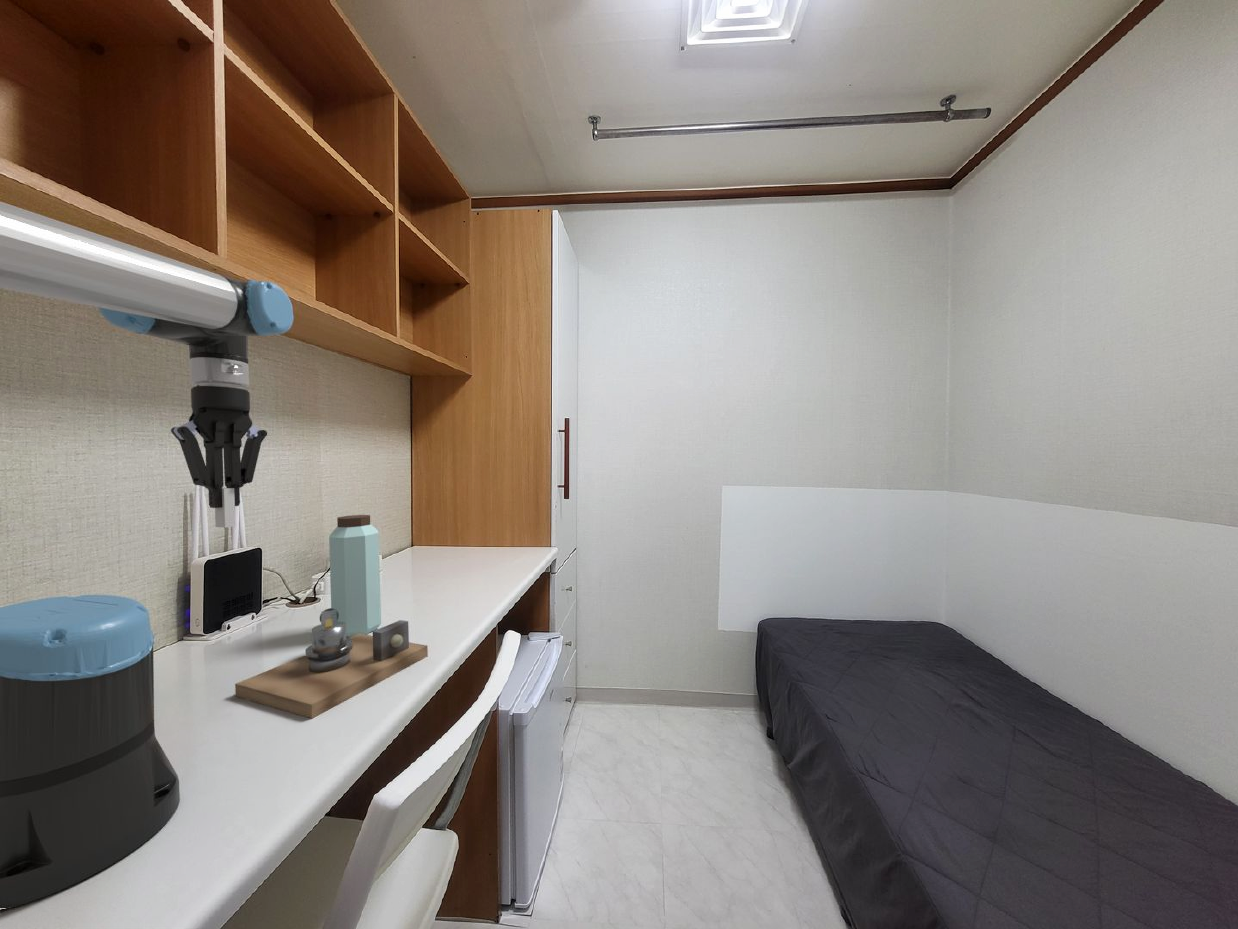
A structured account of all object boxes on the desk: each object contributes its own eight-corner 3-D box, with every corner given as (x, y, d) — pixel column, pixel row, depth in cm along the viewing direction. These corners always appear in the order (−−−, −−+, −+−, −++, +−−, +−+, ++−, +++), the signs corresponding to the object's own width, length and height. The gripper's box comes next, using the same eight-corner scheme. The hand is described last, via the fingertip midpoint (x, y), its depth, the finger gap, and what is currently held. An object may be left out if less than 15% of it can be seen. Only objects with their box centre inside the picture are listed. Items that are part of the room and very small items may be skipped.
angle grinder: (353, 654, 79) (352, 624, 79) (304, 665, 75) (303, 633, 75) (350, 627, 92) (349, 601, 92) (308, 634, 88) (307, 607, 88)
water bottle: (342, 643, 94) (338, 521, 93) (322, 632, 100) (319, 517, 99) (391, 628, 102) (388, 515, 101) (370, 619, 108) (367, 512, 107)
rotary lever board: (312, 718, 66) (310, 670, 66) (235, 696, 73) (233, 652, 73) (427, 656, 87) (426, 619, 87) (359, 643, 93) (358, 609, 93)
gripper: (185, 380, 70) (190, 533, 70) (276, 390, 82) (280, 522, 83) (158, 383, 73) (163, 531, 73) (250, 393, 85) (254, 520, 85)
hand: (225, 526), depth 78 cm, fingers closed
